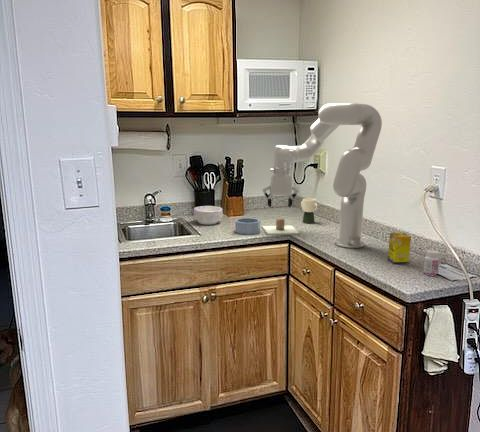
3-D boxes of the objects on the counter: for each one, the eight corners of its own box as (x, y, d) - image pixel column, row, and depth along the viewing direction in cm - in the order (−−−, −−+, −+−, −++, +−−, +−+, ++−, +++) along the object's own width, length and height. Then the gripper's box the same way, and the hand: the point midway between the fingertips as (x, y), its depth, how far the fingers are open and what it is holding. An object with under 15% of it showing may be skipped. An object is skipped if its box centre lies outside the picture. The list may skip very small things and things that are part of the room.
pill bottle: (433, 277, 157) (435, 254, 155) (420, 273, 160) (422, 250, 159) (440, 274, 159) (443, 251, 158) (428, 271, 163) (430, 248, 161)
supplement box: (387, 259, 177) (389, 232, 174) (402, 259, 177) (404, 232, 175) (393, 264, 171) (395, 236, 169) (408, 264, 171) (411, 236, 169)
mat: (300, 235, 213) (300, 234, 212) (266, 236, 211) (266, 235, 211) (292, 228, 228) (292, 226, 228) (261, 228, 226) (261, 227, 226)
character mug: (320, 224, 238) (322, 199, 235) (312, 226, 233) (313, 201, 230) (304, 220, 245) (305, 197, 243) (296, 222, 241) (297, 198, 238)
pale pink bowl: (222, 226, 231) (222, 211, 229) (192, 226, 230) (192, 210, 229) (223, 220, 246) (223, 205, 244) (195, 219, 245) (194, 205, 244)
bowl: (261, 235, 212) (262, 223, 211) (236, 235, 211) (236, 223, 210) (257, 229, 224) (258, 217, 223) (233, 229, 223) (234, 218, 222)
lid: (298, 234, 213) (299, 222, 212) (267, 234, 211) (267, 222, 210) (291, 227, 227) (292, 215, 226) (262, 227, 226) (262, 216, 225)
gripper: (264, 172, 209) (263, 208, 213) (301, 172, 211) (299, 208, 215) (262, 170, 216) (260, 205, 220) (297, 170, 218) (295, 205, 222)
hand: (279, 206), depth 217 cm, fingers open, 9 cm apart
